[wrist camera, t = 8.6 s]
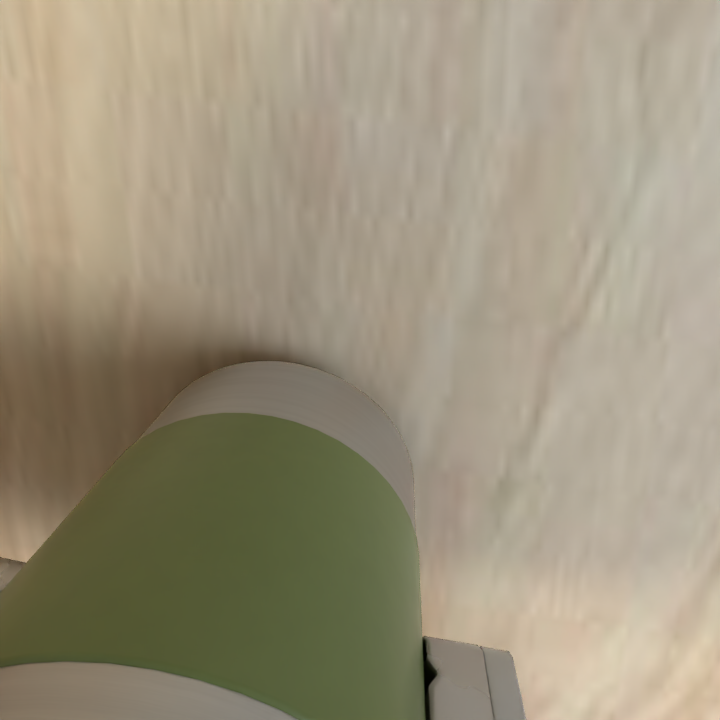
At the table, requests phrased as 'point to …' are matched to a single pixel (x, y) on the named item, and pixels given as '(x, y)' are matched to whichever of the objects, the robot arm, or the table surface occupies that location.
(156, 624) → the can
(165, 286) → the table surface
